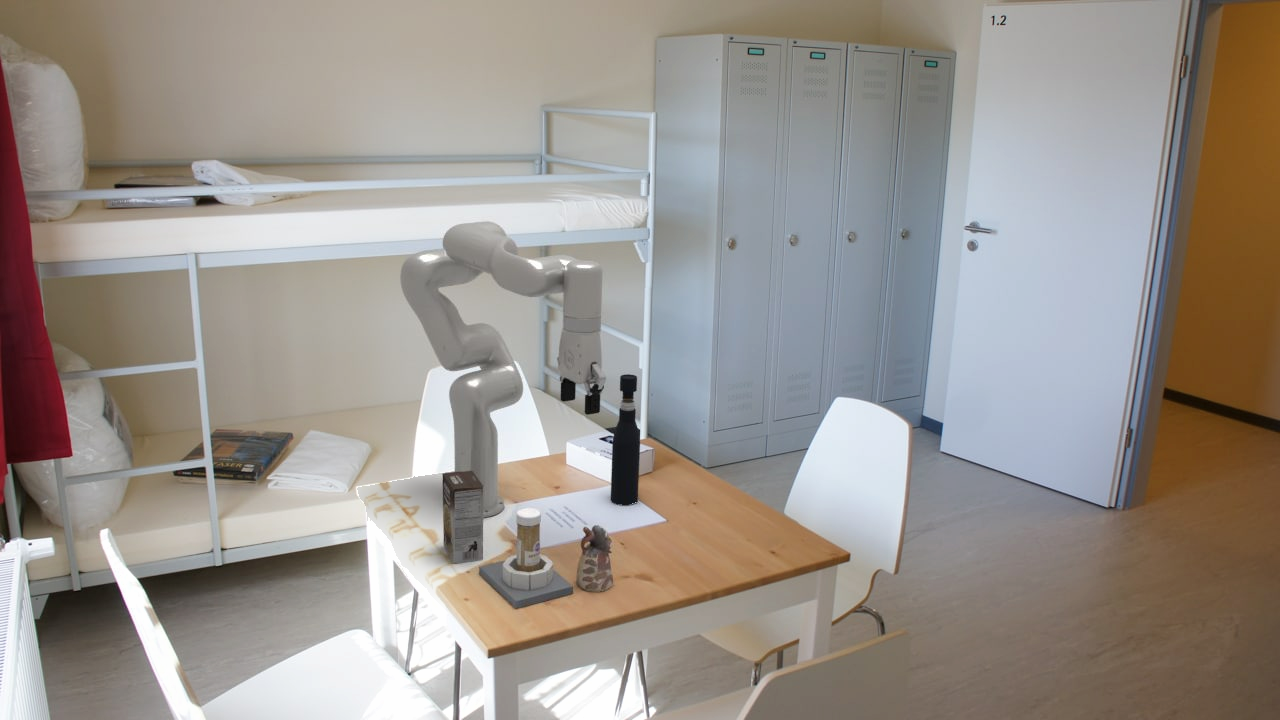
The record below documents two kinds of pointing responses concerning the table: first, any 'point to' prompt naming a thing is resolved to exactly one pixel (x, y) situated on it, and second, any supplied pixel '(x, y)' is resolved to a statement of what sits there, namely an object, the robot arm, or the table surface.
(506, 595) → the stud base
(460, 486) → the coffee box
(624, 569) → the table surface
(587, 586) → the figurine
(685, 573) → the table surface
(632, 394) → the wine bottle
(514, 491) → the table surface
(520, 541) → the sprinkles bottle
